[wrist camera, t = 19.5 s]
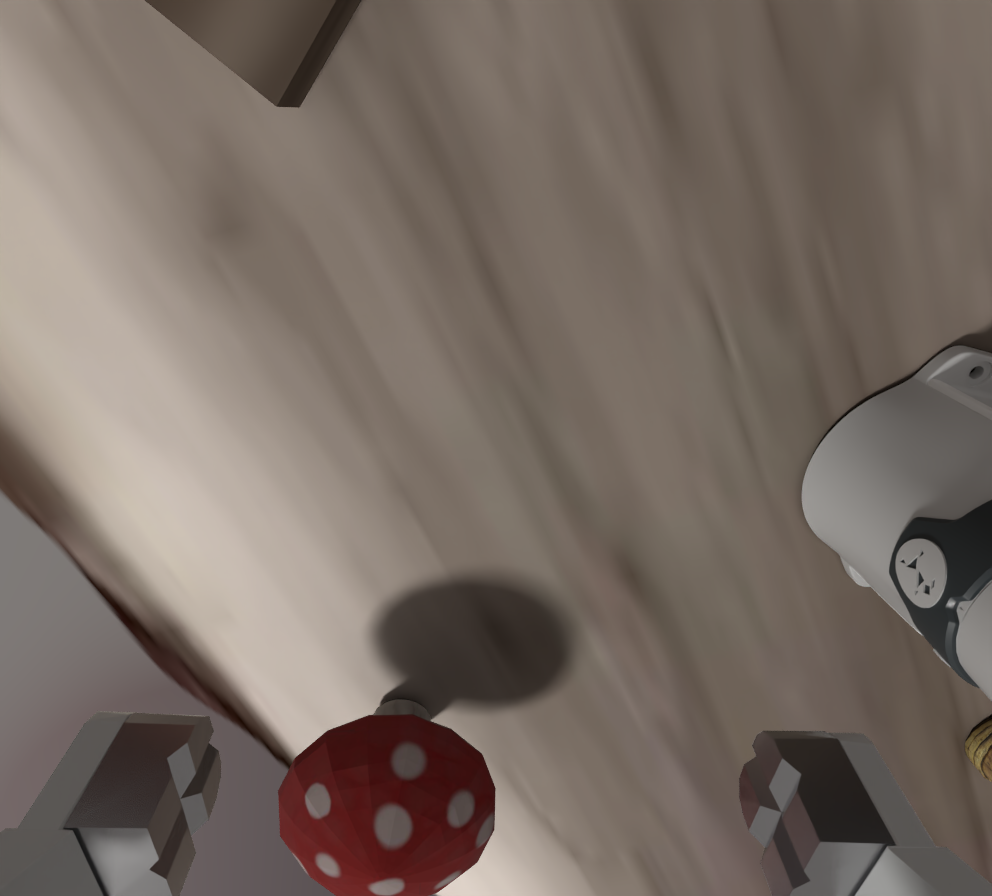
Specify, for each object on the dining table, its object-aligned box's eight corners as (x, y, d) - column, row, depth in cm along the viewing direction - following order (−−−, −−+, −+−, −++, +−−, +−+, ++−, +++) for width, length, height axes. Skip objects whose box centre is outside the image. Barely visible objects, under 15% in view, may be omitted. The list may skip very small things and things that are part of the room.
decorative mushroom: (273, 679, 53) (201, 869, 39) (431, 605, 49) (411, 787, 36) (382, 781, 59) (353, 973, 46) (529, 722, 56) (543, 912, 42)
